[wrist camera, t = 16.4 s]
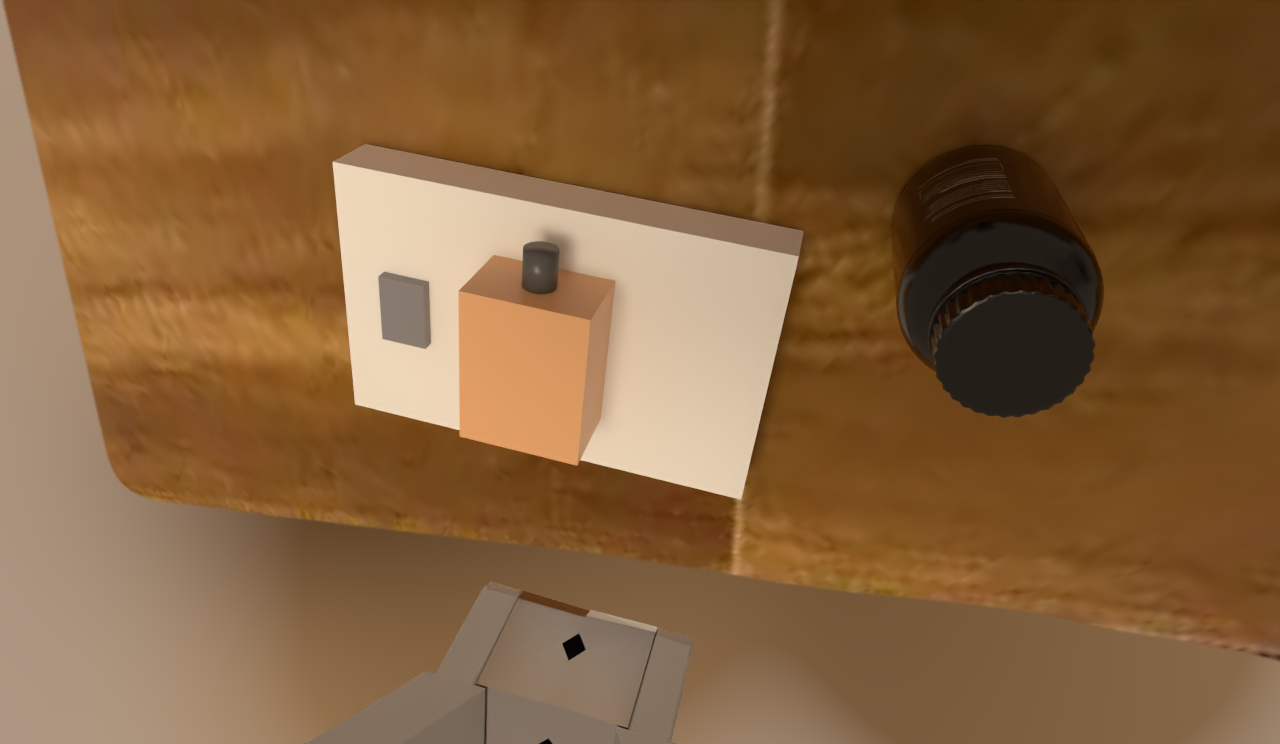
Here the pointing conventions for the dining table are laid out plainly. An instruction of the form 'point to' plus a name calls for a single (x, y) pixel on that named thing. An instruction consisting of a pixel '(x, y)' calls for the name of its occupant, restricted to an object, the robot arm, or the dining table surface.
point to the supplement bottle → (995, 281)
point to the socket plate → (589, 244)
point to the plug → (533, 354)
